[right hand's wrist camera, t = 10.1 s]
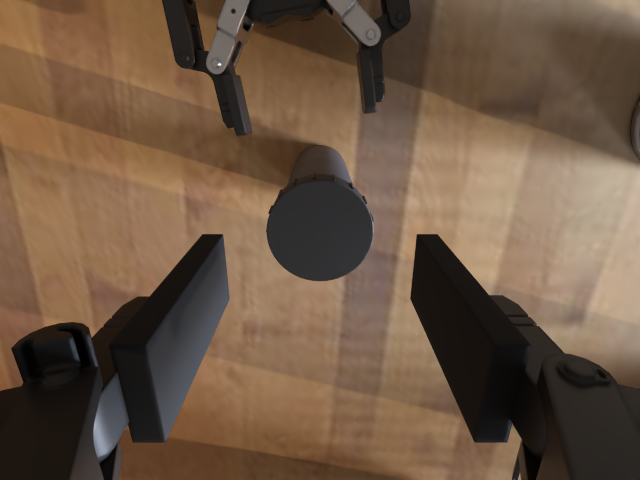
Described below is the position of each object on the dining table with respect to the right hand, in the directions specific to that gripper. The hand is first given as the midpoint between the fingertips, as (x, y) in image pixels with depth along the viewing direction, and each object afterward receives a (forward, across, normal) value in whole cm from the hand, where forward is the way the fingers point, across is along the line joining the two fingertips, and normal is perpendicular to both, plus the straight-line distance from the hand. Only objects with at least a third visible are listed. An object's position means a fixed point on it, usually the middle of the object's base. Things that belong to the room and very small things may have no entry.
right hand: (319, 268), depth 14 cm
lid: (+4, 0, 0) cm, 4 cm away
